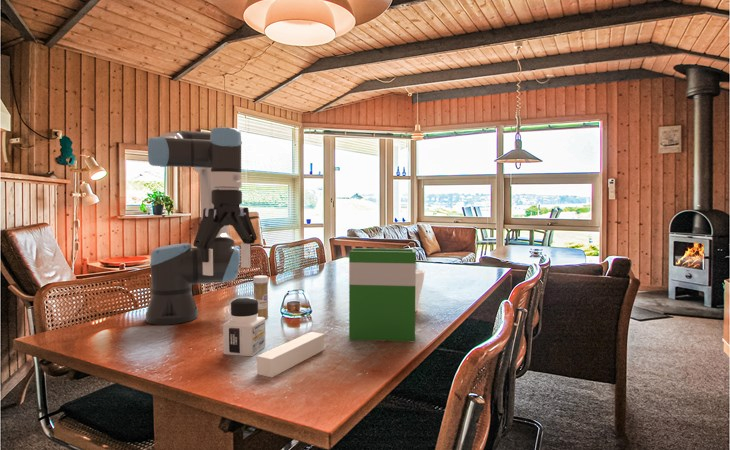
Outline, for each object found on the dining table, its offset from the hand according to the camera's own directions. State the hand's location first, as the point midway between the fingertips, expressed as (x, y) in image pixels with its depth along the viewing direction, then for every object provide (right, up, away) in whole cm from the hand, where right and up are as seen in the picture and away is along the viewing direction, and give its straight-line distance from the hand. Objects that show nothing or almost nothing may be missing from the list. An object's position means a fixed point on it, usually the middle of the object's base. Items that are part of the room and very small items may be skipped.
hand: (227, 271), depth 116 cm
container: (+6, -20, -4) cm, 21 cm away
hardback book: (+41, -19, +7) cm, 45 cm away
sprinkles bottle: (+3, -18, +26) cm, 31 cm away
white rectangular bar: (+19, -20, -12) cm, 30 cm away
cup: (+51, -17, +36) cm, 64 cm away
